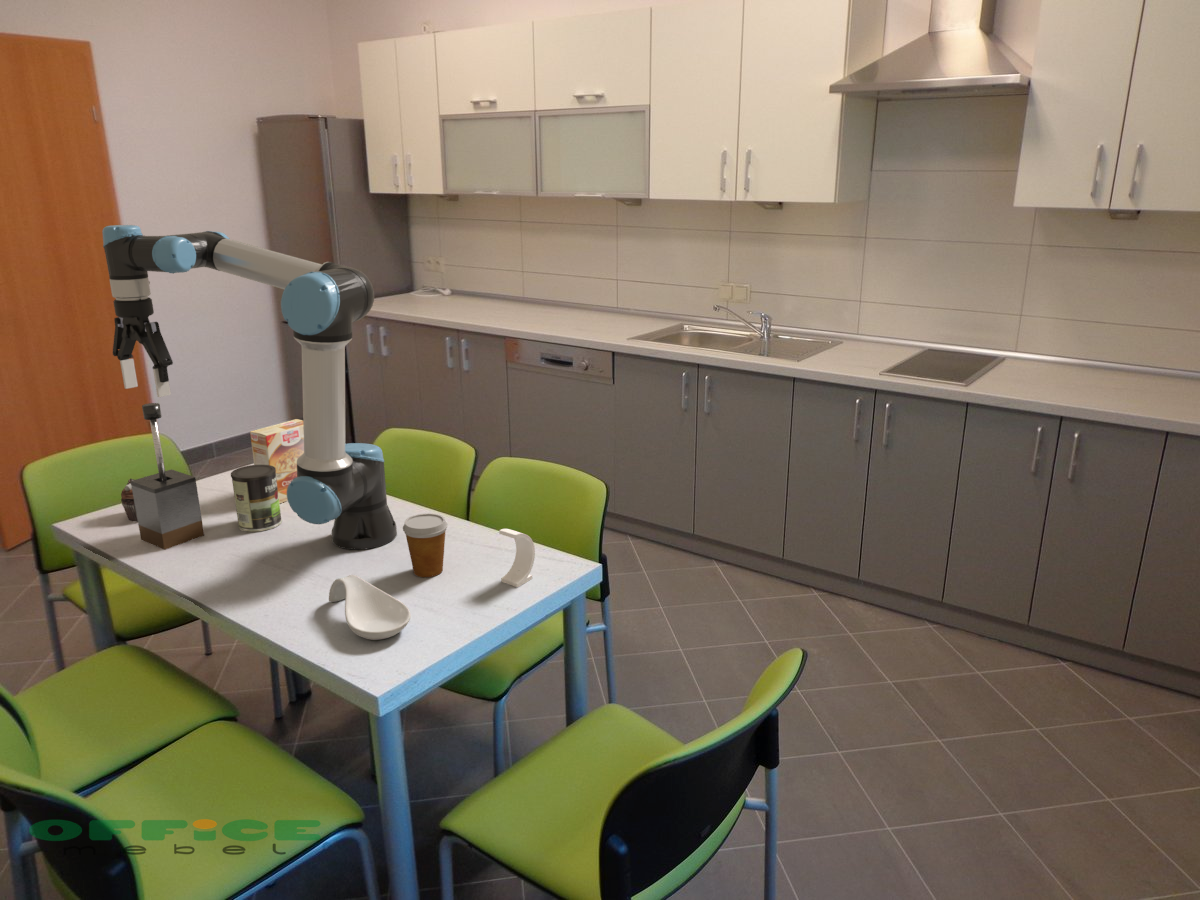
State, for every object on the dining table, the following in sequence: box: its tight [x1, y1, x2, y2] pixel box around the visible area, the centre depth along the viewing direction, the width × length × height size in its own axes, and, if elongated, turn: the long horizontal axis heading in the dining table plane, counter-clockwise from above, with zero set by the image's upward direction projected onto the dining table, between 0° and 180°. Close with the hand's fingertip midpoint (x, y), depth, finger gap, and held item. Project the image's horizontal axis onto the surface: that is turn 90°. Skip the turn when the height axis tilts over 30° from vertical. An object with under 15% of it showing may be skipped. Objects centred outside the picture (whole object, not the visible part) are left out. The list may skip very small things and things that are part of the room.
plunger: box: [141, 402, 167, 482], centre depth 199 cm, size 7×7×20 cm
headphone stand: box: [498, 528, 536, 588], centre depth 183 cm, size 5×6×12 cm
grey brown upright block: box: [131, 468, 205, 551], centre depth 203 cm, size 10×10×15 cm
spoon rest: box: [328, 574, 412, 641], centre depth 167 cm, size 24×12×7 cm, turn 42°
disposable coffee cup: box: [402, 512, 449, 578], centre depth 187 cm, size 10×10×12 cm
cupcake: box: [120, 476, 147, 523], centre depth 217 cm, size 10×10×10 cm
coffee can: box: [230, 464, 283, 533], centre depth 212 cm, size 10×10×14 cm
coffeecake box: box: [249, 418, 304, 505], centre depth 230 cm, size 15×7×20 cm, turn 147°
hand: (147, 391), depth 195 cm, fingers open, 13 cm apart
